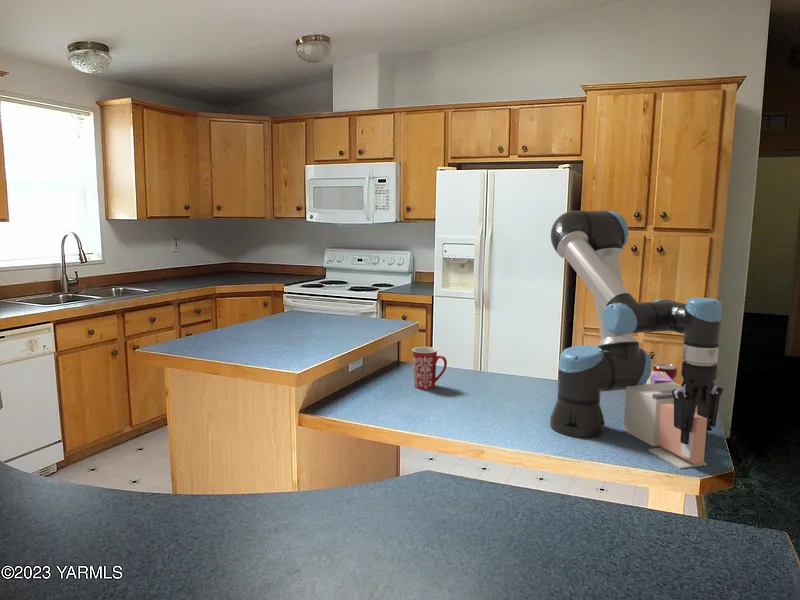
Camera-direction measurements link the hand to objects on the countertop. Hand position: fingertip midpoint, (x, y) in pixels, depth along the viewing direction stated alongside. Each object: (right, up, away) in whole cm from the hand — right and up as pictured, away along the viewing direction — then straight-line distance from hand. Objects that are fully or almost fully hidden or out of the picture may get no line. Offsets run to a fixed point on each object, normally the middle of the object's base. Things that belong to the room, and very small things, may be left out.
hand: (692, 454), depth 140 cm
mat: (-2, -2, +5) cm, 5 cm away
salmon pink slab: (-1, -1, +4) cm, 4 cm away
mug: (-62, +7, +61) cm, 87 cm away
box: (+8, +3, +38) cm, 39 cm away
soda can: (+15, +5, +48) cm, 51 cm away
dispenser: (+1, 0, +20) cm, 20 cm away
